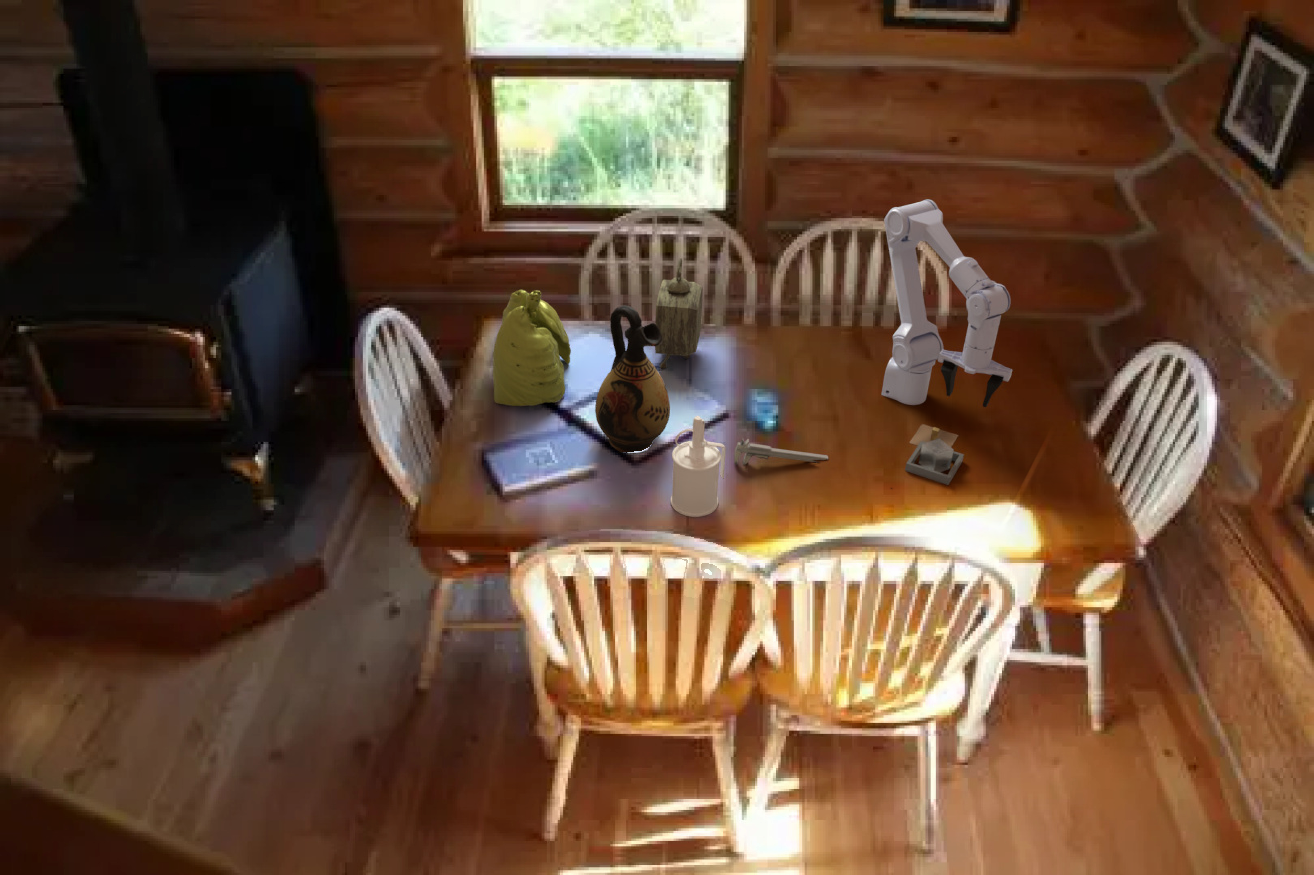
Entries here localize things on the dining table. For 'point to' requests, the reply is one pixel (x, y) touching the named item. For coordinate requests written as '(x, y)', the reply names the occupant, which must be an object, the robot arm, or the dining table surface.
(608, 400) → the ceramic jug
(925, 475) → the bin
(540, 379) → the lungs
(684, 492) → the white cylinder with rod
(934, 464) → the grey block
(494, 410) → the dining table surface
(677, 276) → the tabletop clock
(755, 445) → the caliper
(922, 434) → the stud plate
